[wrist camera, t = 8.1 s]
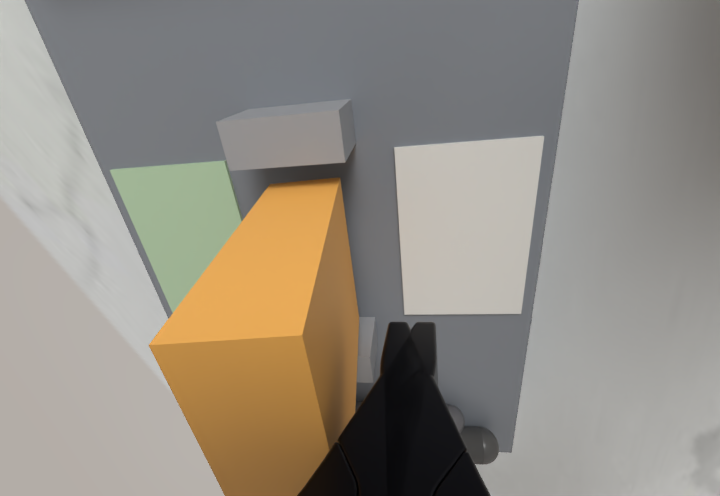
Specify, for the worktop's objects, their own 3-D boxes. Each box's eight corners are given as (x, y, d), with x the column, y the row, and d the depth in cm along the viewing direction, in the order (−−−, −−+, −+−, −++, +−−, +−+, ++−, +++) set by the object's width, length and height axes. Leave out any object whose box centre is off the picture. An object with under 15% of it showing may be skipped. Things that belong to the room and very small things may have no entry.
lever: (339, 177, 10) (302, 335, 5) (359, 318, 12) (349, 537, 7) (270, 183, 10) (148, 344, 5) (301, 321, 13) (247, 539, 7)
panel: (565, -240, 9) (723, -530, 4) (497, 396, 19) (523, 500, 15) (57, -124, 11) (-182, -239, 6) (245, 389, 21) (203, 478, 17)
